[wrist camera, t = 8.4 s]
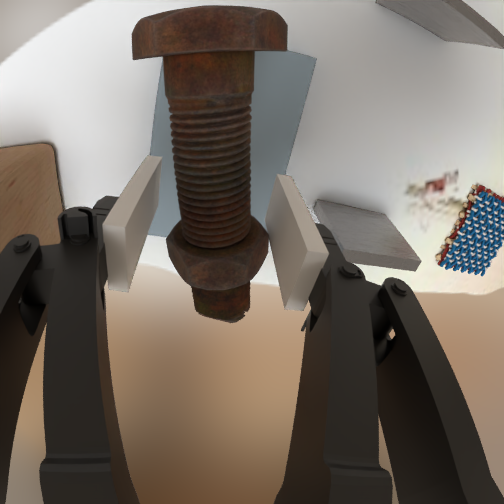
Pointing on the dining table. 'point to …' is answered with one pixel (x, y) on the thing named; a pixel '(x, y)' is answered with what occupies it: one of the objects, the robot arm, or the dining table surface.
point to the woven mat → (475, 233)
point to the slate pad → (262, 129)
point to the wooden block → (29, 194)
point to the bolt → (213, 144)
